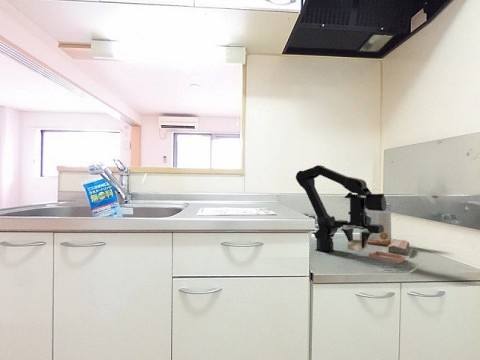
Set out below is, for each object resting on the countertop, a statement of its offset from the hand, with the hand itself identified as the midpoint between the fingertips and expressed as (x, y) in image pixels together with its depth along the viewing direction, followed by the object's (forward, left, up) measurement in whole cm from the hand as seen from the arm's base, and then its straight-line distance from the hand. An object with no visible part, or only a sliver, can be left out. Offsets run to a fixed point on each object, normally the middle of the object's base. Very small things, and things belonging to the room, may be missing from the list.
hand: (357, 247), depth 110 cm
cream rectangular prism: (0, 0, -1) cm, 1 cm away
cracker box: (-6, +32, -5) cm, 33 cm away
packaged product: (+8, +22, -5) cm, 24 cm away
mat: (+5, +3, -4) cm, 8 cm away
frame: (+9, +6, -4) cm, 12 cm away
